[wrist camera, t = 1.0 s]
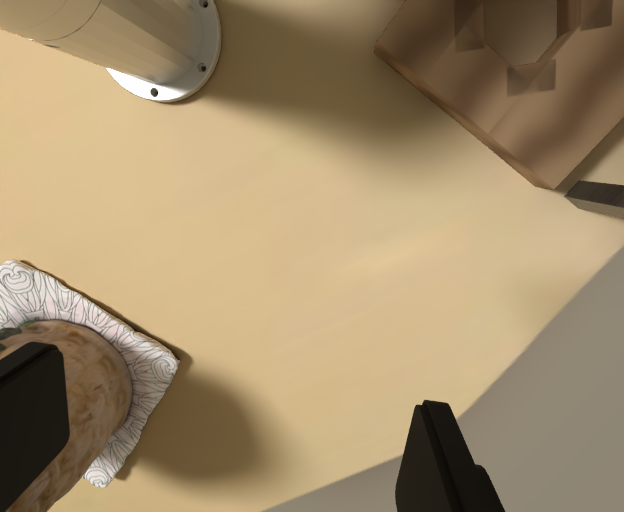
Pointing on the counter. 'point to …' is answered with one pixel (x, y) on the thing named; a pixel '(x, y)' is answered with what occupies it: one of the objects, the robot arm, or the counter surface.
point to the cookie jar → (84, 378)
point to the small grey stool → (598, 198)
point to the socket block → (517, 80)
